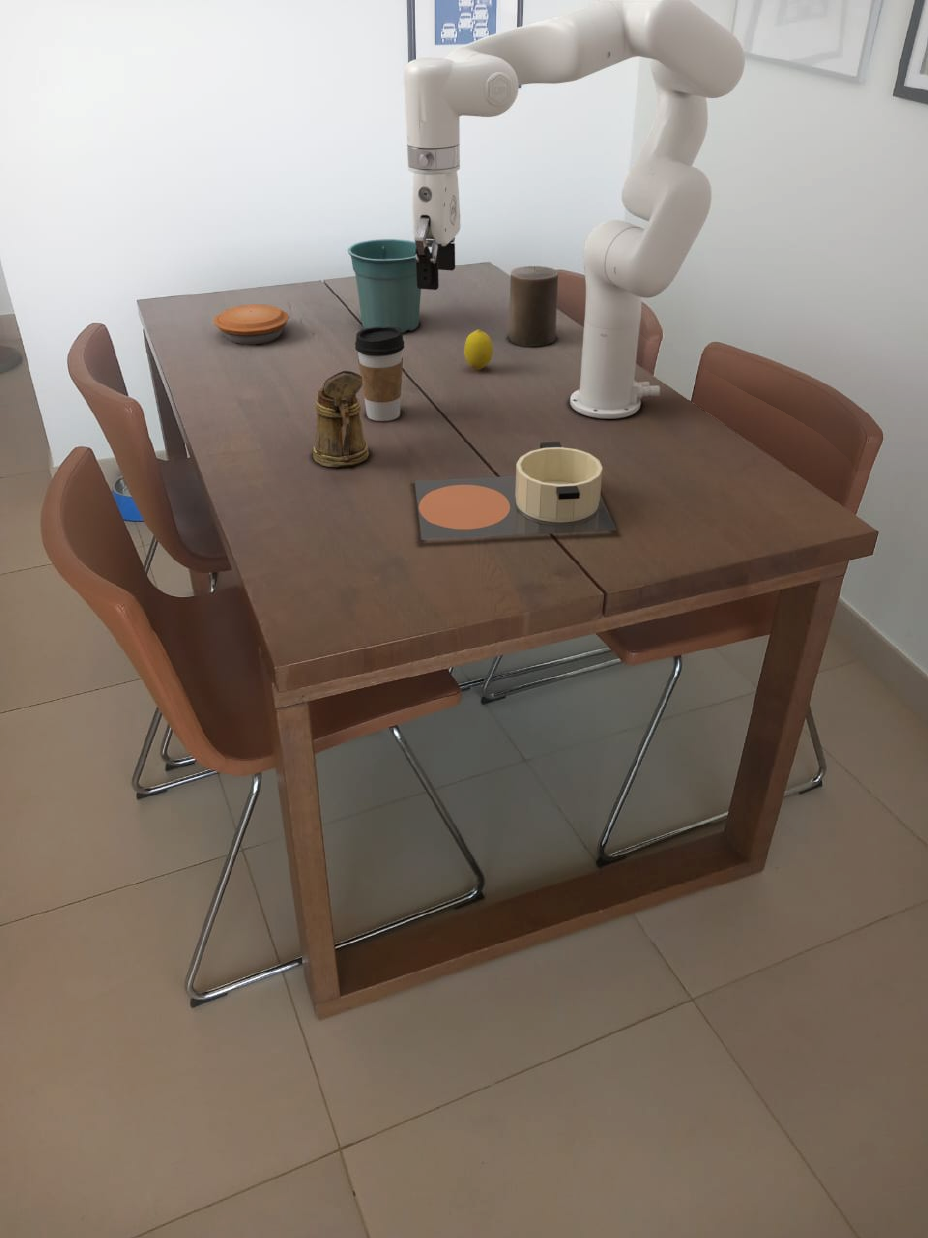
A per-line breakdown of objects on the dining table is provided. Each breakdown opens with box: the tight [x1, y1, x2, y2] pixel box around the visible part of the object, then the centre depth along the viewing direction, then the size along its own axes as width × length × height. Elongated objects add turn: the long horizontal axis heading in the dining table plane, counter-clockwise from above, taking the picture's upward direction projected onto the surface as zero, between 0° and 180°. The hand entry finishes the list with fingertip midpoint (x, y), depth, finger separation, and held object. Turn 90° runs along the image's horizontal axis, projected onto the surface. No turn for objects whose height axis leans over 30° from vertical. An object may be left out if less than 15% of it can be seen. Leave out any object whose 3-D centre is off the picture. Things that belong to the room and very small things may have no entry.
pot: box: [515, 441, 604, 523], centre depth 148 cm, size 12×16×6 cm
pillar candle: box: [508, 265, 559, 347], centre depth 203 cm, size 10×10×15 cm
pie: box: [213, 303, 290, 345], centre depth 208 cm, size 16×16×5 cm
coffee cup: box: [354, 327, 405, 422], centre depth 173 cm, size 8×8×15 cm
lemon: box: [463, 329, 494, 371], centre depth 192 cm, size 6×6×8 cm
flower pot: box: [347, 238, 422, 334], centre depth 210 cm, size 16×16×16 cm
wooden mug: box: [312, 370, 370, 469], centre depth 157 cm, size 9×14×18 cm, turn 17°
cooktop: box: [414, 475, 617, 541], centre depth 149 cm, size 28×18×1 cm, turn 95°
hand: (436, 278), depth 152 cm, fingers open, 9 cm apart
